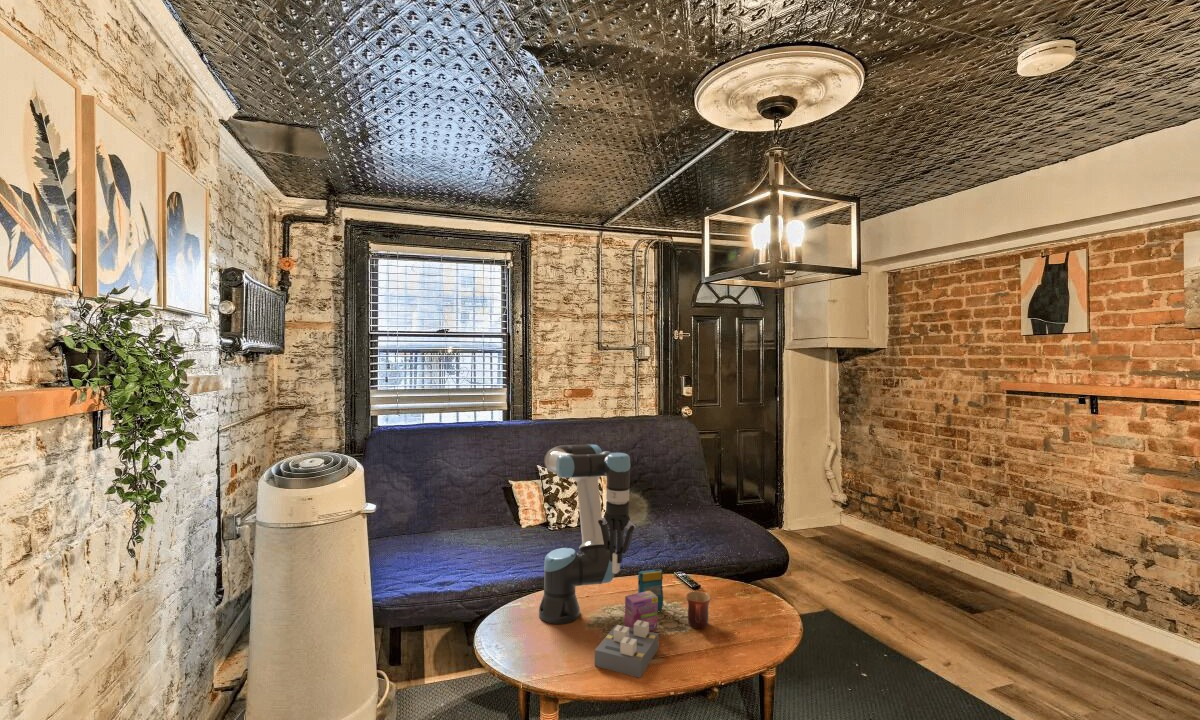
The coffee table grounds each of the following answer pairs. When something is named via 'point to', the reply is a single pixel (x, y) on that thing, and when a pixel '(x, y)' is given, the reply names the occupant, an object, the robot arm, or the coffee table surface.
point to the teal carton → (652, 584)
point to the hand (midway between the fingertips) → (615, 571)
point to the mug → (698, 609)
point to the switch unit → (630, 665)
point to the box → (641, 609)
